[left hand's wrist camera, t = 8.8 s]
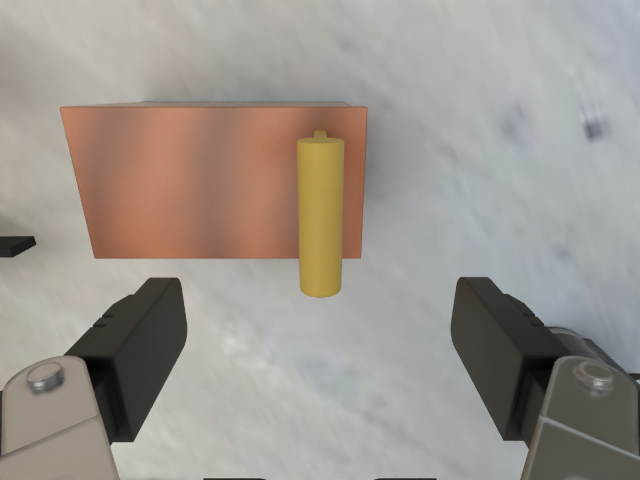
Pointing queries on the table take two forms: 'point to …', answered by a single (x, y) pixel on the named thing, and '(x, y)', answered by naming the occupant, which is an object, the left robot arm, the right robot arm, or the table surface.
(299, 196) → the lid
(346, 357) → the table surface
